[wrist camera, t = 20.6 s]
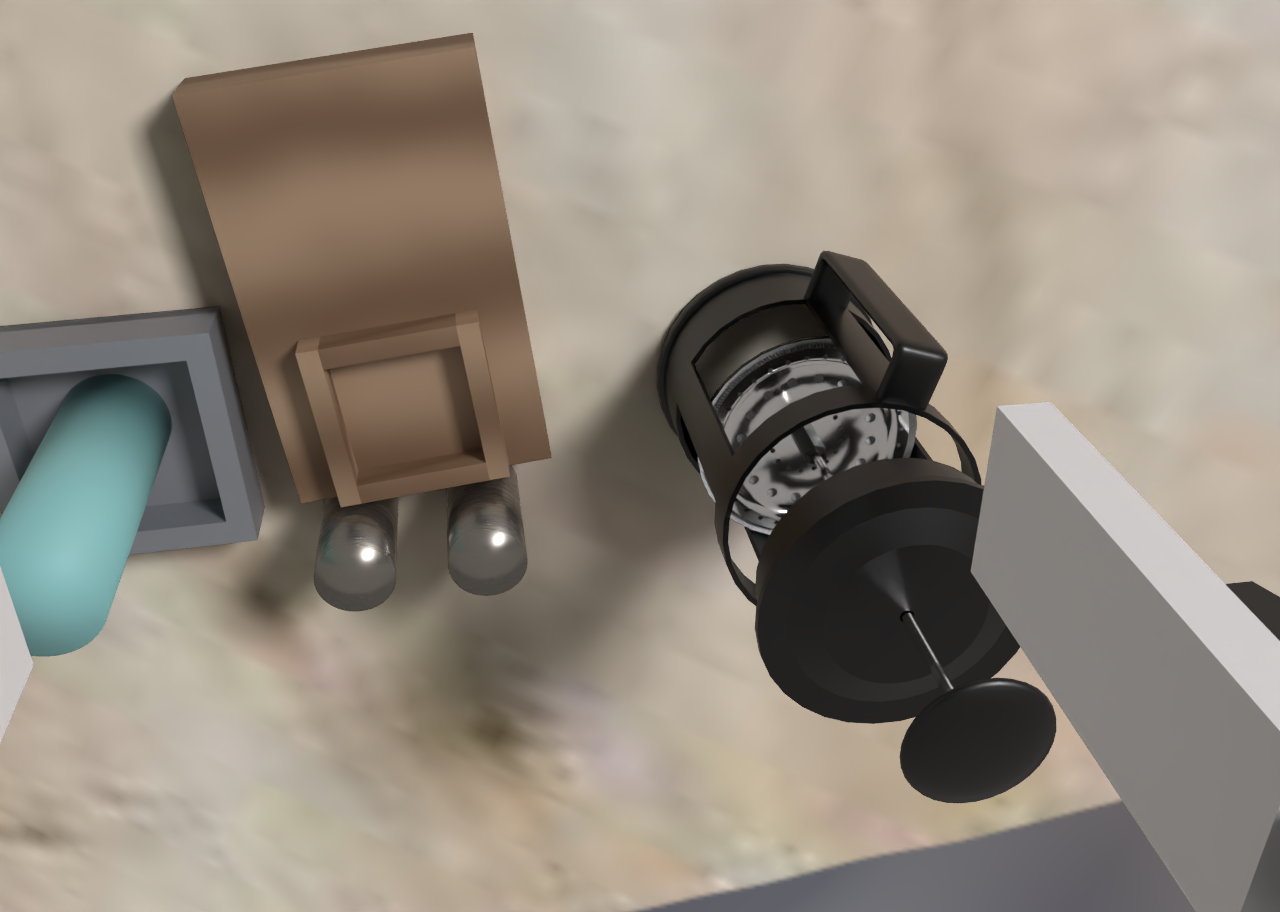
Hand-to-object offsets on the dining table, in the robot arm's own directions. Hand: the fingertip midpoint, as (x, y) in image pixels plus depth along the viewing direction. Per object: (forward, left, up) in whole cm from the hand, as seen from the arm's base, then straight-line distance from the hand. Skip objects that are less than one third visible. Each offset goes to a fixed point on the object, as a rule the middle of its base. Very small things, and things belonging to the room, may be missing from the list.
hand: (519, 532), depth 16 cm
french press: (+13, +11, -31) cm, 36 cm away
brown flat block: (+8, -4, -32) cm, 33 cm away
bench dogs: (+18, -4, -31) cm, 36 cm away
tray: (+13, -15, -31) cm, 37 cm away
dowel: (+13, -15, -30) cm, 36 cm away
